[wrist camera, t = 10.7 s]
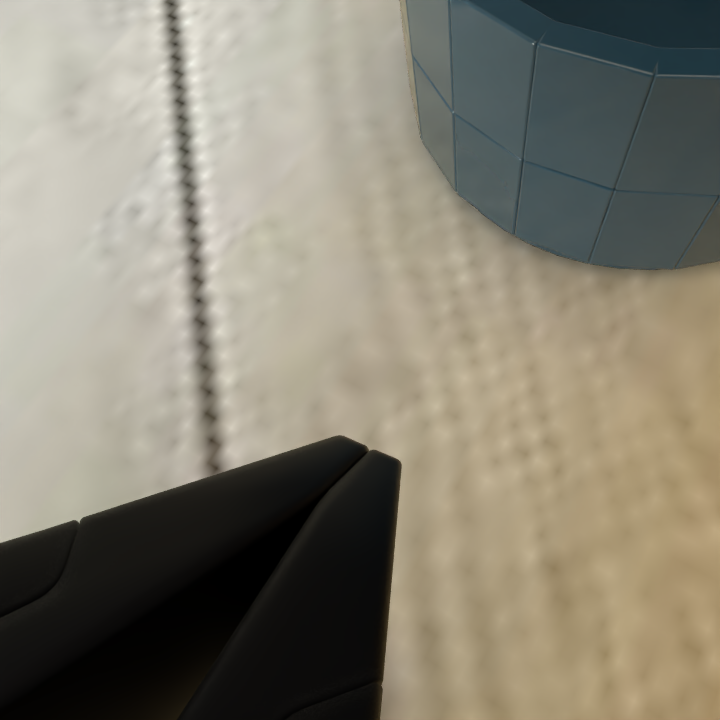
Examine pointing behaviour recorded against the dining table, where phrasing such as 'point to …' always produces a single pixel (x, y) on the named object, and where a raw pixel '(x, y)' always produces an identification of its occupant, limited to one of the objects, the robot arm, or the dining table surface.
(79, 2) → the dining table surface
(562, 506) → the dining table surface
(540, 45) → the bowl
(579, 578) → the dining table surface
